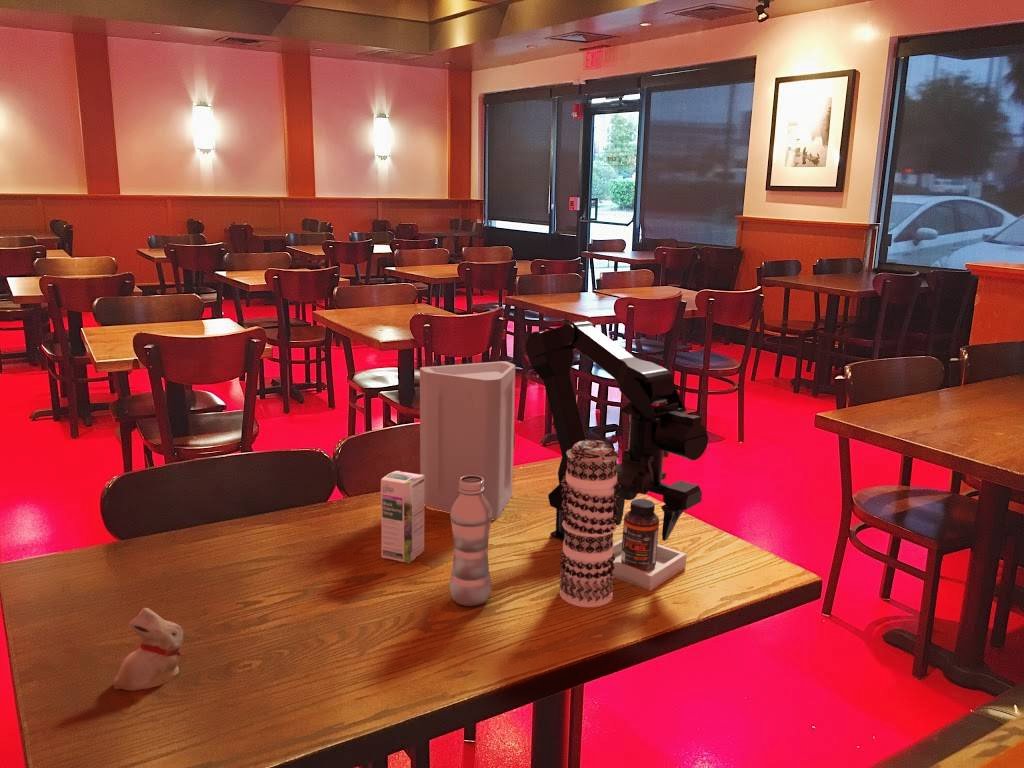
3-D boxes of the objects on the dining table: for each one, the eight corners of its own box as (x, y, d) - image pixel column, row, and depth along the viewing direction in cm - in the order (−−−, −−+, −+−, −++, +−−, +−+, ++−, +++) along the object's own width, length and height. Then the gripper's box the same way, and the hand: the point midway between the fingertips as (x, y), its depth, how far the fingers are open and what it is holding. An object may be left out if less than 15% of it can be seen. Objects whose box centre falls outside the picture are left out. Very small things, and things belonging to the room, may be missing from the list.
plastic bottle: (497, 594, 130) (499, 475, 125) (481, 614, 123) (483, 489, 119) (459, 587, 132) (460, 469, 127) (442, 607, 125) (442, 483, 121)
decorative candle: (582, 575, 137) (589, 431, 131) (626, 595, 130) (635, 445, 125) (545, 593, 131) (550, 443, 125) (589, 614, 124) (597, 457, 118)
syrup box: (380, 558, 142) (378, 478, 138) (397, 545, 147) (396, 468, 144) (409, 564, 139) (408, 484, 136) (425, 551, 145) (425, 473, 141)
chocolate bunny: (175, 690, 103) (169, 618, 101) (110, 692, 103) (103, 619, 101) (188, 665, 109) (183, 596, 107) (127, 667, 108) (120, 598, 106)
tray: (591, 568, 139) (591, 554, 139) (628, 547, 148) (629, 534, 147) (649, 590, 132) (650, 576, 132) (685, 567, 141) (686, 553, 140)
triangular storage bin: (445, 527, 155) (445, 383, 148) (419, 501, 168) (418, 367, 161) (535, 513, 163) (539, 375, 157) (503, 488, 176) (506, 361, 170)
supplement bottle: (619, 570, 138) (623, 507, 135) (622, 555, 143) (625, 494, 141) (655, 574, 136) (659, 510, 134) (656, 559, 142) (660, 497, 140)
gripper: (571, 442, 135) (568, 531, 138) (671, 468, 123) (664, 564, 127) (609, 429, 143) (605, 512, 147) (706, 452, 131) (699, 542, 135)
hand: (641, 532), depth 138 cm, fingers open, 9 cm apart
